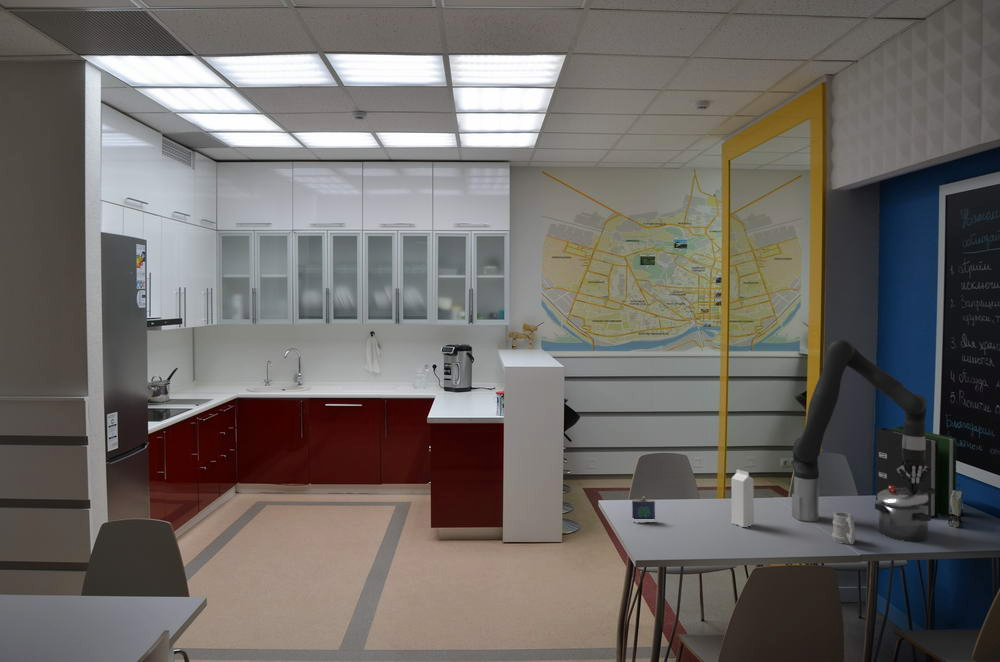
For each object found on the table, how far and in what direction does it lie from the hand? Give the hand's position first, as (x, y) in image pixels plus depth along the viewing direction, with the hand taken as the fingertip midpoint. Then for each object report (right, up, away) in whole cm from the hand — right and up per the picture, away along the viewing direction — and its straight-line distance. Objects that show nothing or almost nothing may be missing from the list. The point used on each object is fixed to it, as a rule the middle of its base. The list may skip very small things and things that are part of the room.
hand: (913, 492), depth 250 cm
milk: (-60, -17, +14) cm, 63 cm away
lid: (-2, -2, 0) cm, 3 cm away
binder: (+21, -15, +32) cm, 41 cm away
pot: (-4, -16, 0) cm, 16 cm away
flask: (-98, -17, +20) cm, 101 cm away
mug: (-29, -17, -7) cm, 35 cm away
